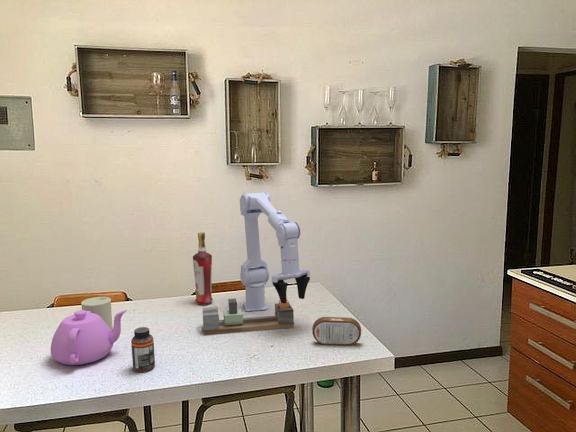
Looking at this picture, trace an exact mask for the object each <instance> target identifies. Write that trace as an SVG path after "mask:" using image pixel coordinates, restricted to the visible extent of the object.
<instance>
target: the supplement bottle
mask: <svg viewBox="0 0 576 432" xmlns="http://www.w3.org/2000/svg"><path fill="white" fill-rule="evenodd" d="M133 331H134V332H133V333H134V334H133V335H134V336H133V337H132V338H131V339H130V340H131V341H130V342H131V343H130V345H131V356H132V369H133V370H134V372H138V373H144V372H145V371H146V372H148V371H151V370H153V369H154V368H155V366H156V360H155V359H156V358H155V344H154V343H155V342H154V341H155V340H154V336H153V335H152V334H151V332H150V328H149V327H148V326H147V327H146V326H141V327H138V328H137V327H136V328H135V329H134V330H133ZM146 372H145V373H146Z"/></svg>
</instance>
